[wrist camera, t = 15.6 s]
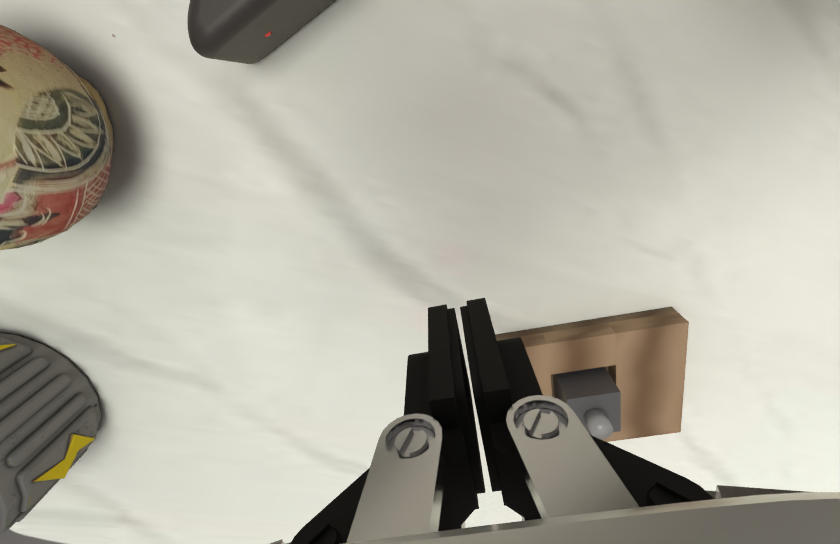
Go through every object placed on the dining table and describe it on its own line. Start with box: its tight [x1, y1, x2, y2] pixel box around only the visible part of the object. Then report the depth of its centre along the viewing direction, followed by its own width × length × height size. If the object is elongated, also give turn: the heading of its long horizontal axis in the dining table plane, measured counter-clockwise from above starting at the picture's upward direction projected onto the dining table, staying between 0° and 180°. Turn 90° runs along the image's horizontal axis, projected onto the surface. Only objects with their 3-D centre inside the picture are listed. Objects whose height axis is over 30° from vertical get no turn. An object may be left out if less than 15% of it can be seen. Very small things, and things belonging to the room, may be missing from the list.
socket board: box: [495, 307, 689, 442], centre depth 44 cm, size 20×14×3 cm
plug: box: [553, 367, 621, 439], centre depth 42 cm, size 5×5×7 cm
